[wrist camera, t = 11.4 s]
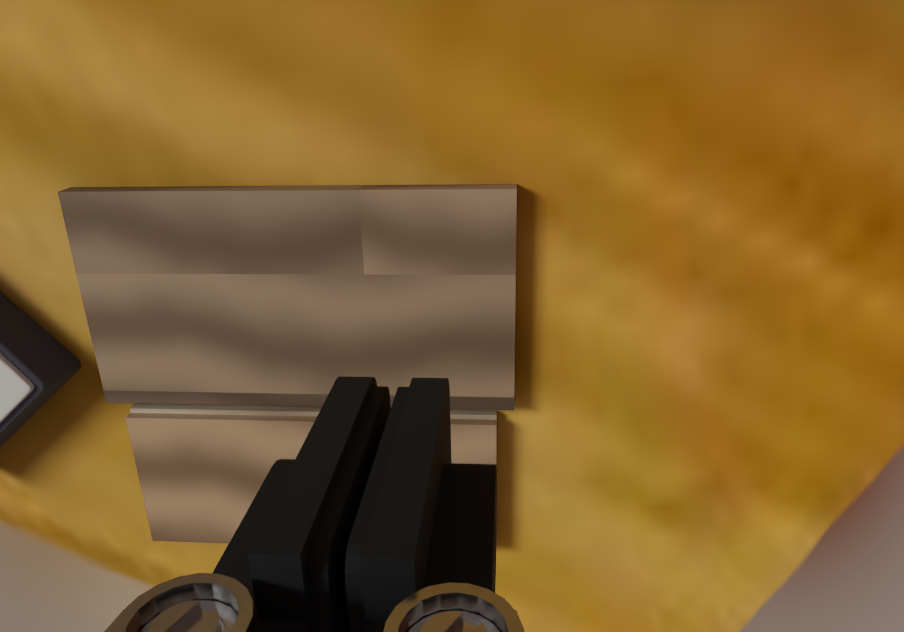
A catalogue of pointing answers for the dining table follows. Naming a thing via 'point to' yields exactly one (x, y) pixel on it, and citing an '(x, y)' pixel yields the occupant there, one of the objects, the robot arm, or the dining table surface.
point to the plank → (241, 459)
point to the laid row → (297, 290)
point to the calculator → (27, 367)
